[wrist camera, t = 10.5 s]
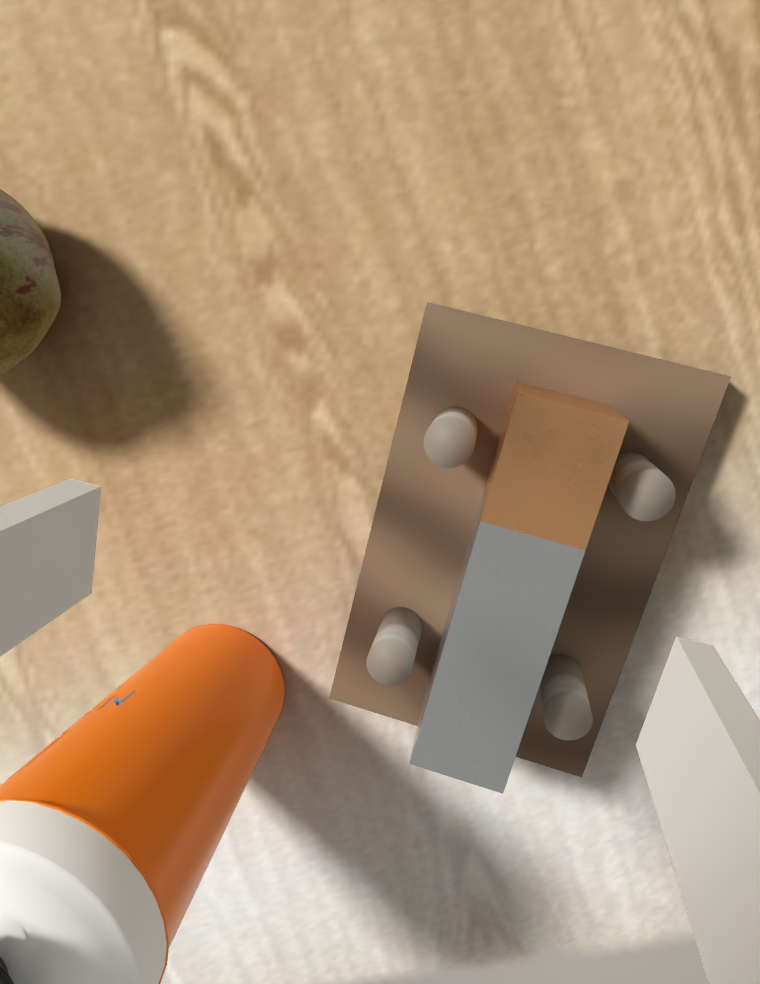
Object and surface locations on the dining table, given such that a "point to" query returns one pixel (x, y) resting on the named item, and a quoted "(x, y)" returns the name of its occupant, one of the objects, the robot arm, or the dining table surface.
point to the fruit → (24, 284)
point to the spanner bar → (515, 581)
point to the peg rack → (456, 497)
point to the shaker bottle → (131, 812)
